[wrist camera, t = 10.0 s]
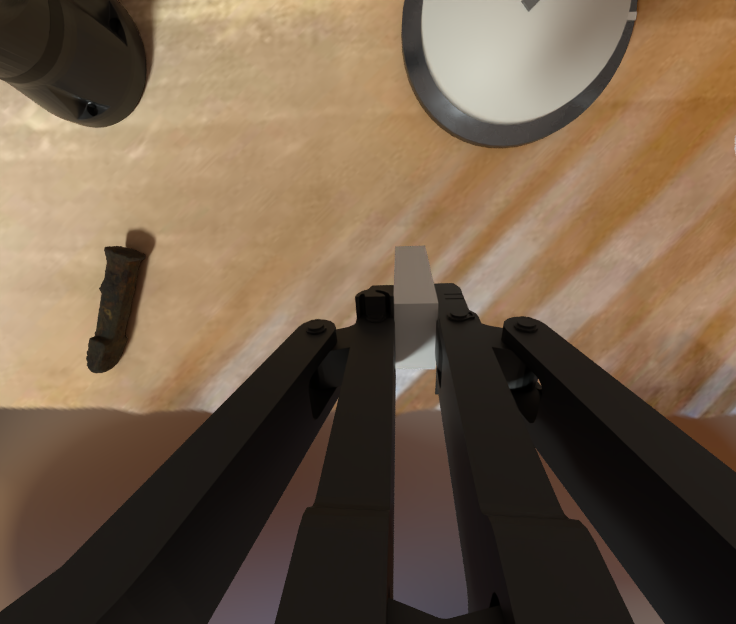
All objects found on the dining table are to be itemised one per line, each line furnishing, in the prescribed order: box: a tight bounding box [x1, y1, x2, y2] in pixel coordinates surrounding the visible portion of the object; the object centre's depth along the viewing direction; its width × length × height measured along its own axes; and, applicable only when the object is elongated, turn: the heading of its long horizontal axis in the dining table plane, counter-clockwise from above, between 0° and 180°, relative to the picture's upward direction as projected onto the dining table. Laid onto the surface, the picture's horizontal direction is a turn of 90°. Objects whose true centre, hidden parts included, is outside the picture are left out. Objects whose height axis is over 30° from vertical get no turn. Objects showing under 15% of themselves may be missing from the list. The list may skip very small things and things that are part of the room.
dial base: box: [401, 0, 637, 148], centre depth 35 cm, size 24×24×2 cm
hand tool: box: [86, 246, 146, 373], centre depth 46 cm, size 19×4×5 cm, turn 157°
